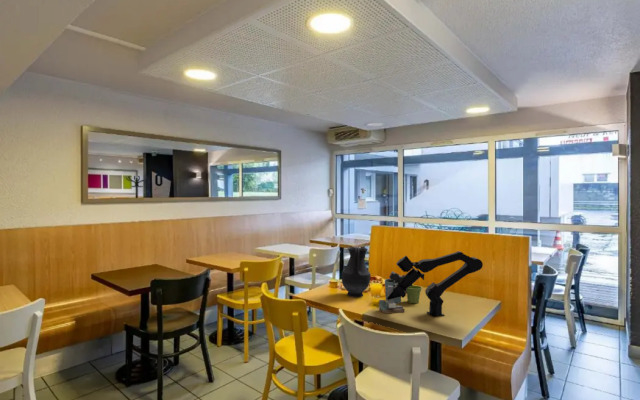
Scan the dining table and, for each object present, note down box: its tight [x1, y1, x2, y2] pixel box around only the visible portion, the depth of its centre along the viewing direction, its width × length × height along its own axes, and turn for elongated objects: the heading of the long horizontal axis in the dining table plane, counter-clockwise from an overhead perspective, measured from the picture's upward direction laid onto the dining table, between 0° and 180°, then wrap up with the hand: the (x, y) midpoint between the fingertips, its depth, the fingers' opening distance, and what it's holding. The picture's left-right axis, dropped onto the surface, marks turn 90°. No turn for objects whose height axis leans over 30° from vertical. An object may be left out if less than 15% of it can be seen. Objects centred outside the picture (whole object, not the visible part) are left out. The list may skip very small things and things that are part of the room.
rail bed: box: [378, 299, 405, 314], centre depth 190 cm, size 12×5×6 cm, turn 105°
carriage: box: [385, 286, 397, 308], centre depth 190 cm, size 4×5×10 cm
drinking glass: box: [384, 278, 402, 304], centre depth 209 cm, size 10×10×12 cm
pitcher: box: [341, 246, 371, 298], centre depth 219 cm, size 17×21×30 cm
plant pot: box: [406, 285, 423, 304], centre depth 209 cm, size 9×9×9 cm
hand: (387, 298), depth 190 cm, fingers closed on carriage, 3 cm apart
